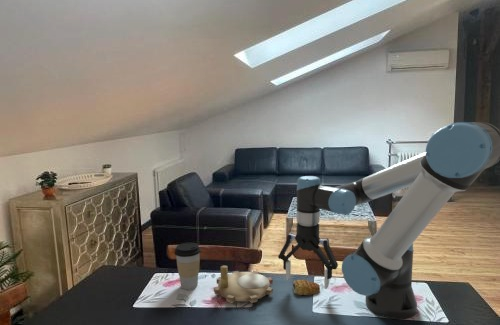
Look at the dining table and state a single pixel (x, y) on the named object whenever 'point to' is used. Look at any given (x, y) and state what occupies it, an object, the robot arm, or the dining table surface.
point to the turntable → (243, 285)
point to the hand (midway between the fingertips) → (306, 282)
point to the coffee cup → (188, 264)
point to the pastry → (305, 287)
